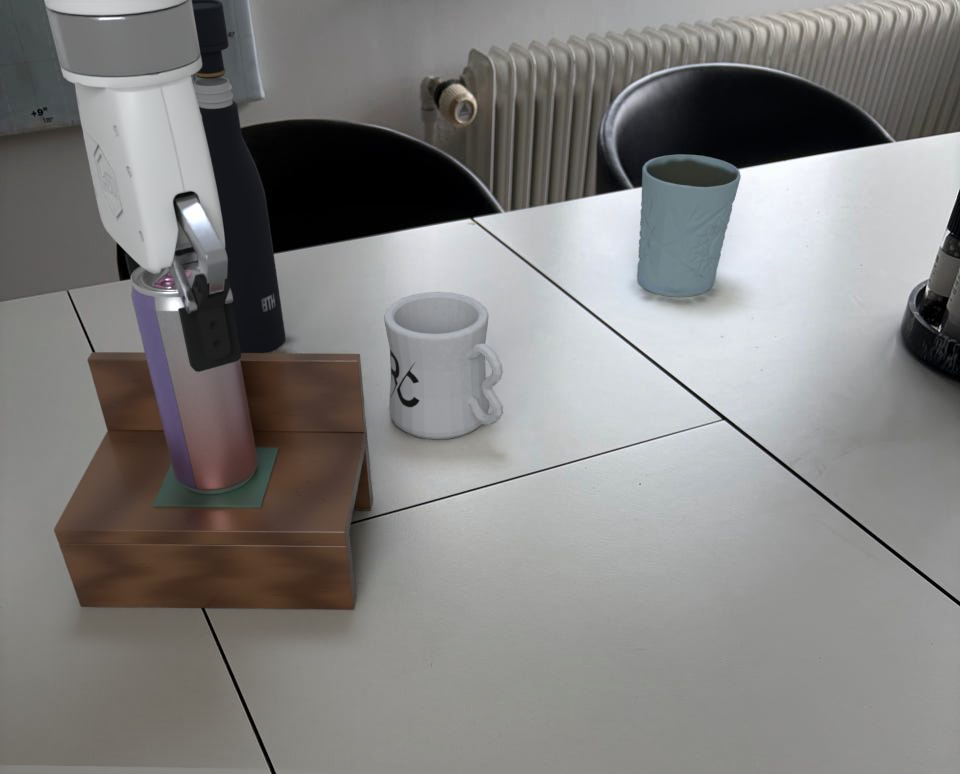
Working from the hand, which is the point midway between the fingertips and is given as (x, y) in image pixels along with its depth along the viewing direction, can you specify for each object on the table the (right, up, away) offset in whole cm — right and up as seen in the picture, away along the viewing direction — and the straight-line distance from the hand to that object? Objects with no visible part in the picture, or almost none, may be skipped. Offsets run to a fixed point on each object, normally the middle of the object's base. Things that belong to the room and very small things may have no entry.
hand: (188, 334), depth 68 cm
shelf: (0, -13, +13) cm, 18 cm away
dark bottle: (-4, +11, +39) cm, 40 cm away
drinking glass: (+41, +20, +49) cm, 67 cm away
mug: (+17, 0, +26) cm, 31 cm away
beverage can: (0, -8, +8) cm, 11 cm away
